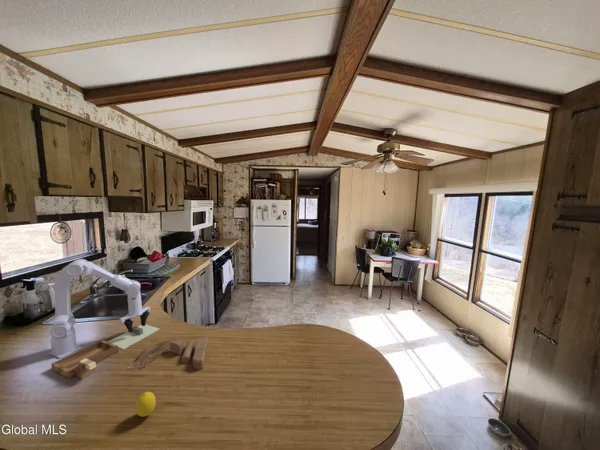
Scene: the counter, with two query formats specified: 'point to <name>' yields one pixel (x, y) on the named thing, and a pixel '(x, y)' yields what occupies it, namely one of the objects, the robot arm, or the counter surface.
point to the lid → (133, 336)
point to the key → (88, 364)
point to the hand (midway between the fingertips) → (137, 328)
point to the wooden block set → (198, 354)
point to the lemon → (145, 404)
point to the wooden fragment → (152, 353)
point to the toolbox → (93, 352)
